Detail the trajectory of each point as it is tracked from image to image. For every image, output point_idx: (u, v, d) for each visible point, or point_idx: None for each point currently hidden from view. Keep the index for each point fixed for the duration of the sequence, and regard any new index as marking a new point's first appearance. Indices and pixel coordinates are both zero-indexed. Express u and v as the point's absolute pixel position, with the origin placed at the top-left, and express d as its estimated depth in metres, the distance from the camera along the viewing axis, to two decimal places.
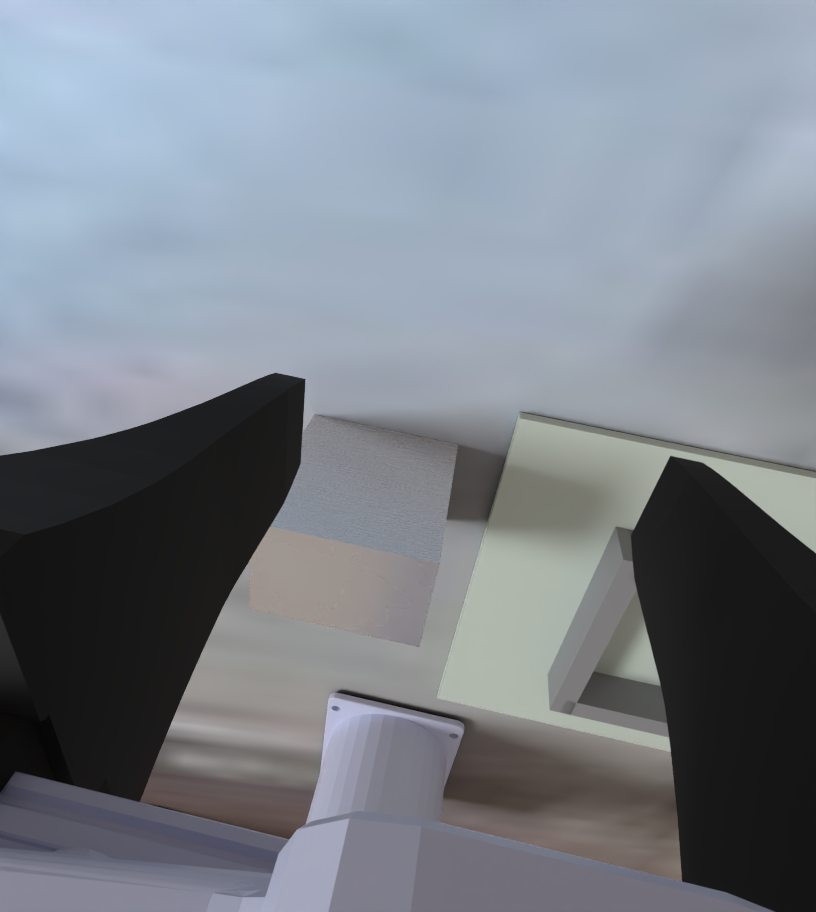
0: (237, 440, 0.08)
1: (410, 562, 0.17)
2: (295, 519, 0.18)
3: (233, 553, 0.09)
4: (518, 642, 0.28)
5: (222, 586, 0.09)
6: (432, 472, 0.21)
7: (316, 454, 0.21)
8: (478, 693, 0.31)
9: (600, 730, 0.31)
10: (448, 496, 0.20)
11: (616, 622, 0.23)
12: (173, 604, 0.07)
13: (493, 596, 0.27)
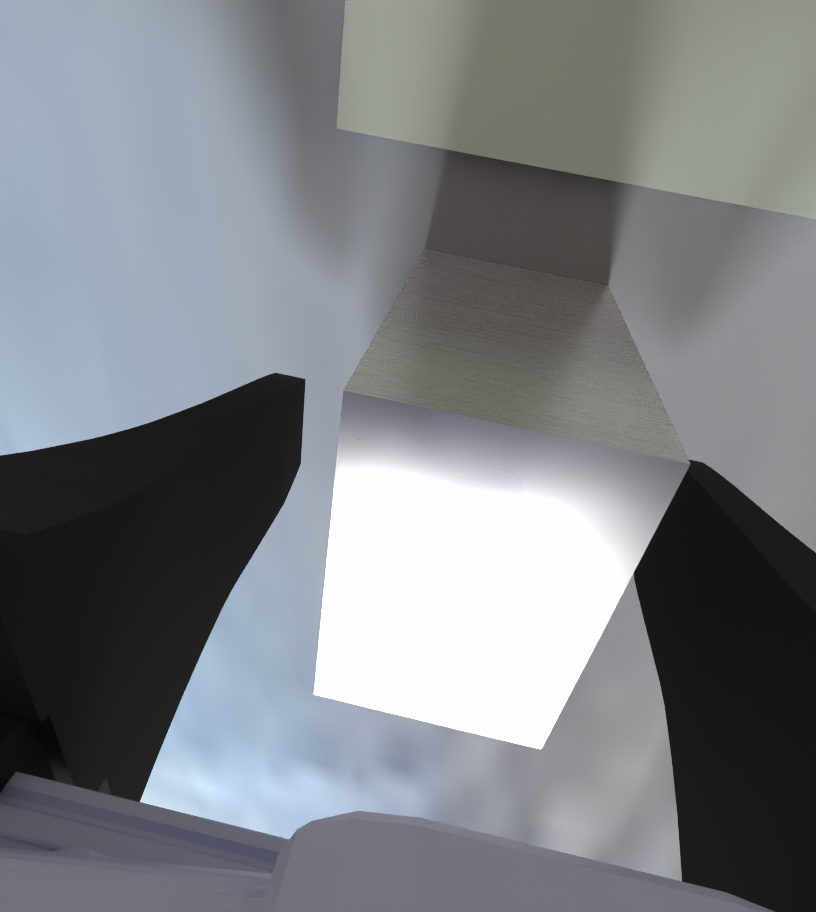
0: (237, 440, 0.08)
1: (356, 455, 0.07)
2: None
3: (233, 553, 0.09)
4: None
5: (222, 587, 0.09)
6: None
7: None
8: None
9: None
10: (395, 302, 0.09)
11: None
12: (173, 604, 0.07)
13: None
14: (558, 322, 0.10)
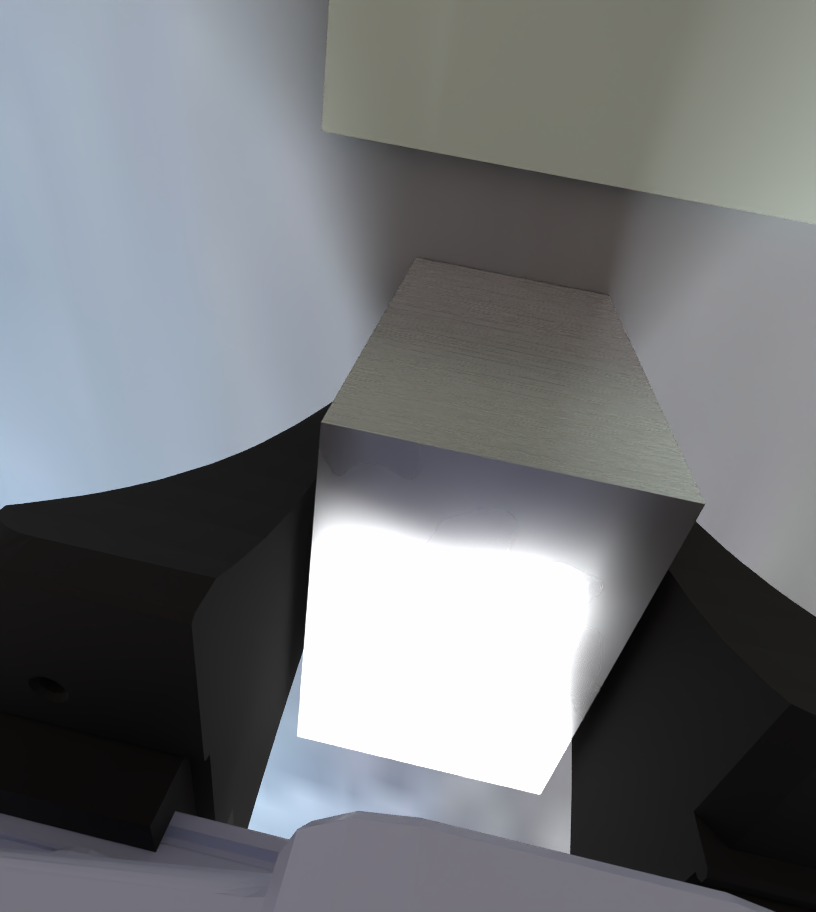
0: None
1: (336, 491, 0.06)
2: None
3: None
4: None
5: None
6: None
7: None
8: None
9: None
10: (382, 318, 0.09)
11: None
12: (285, 630, 0.07)
13: None
14: (557, 338, 0.09)
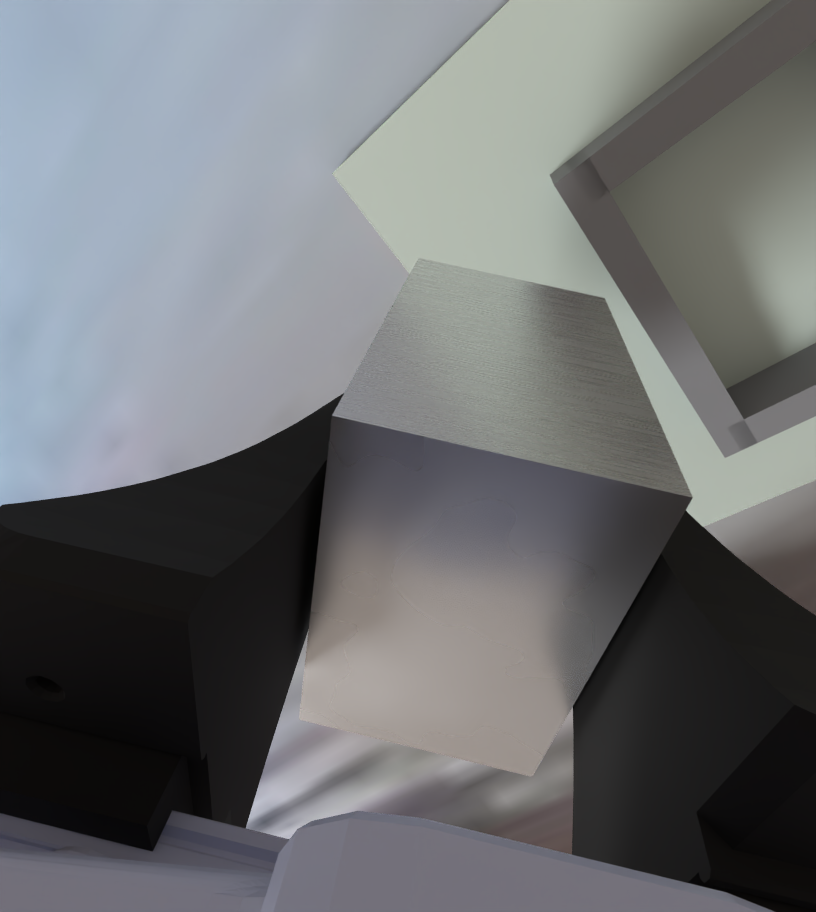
0: None
1: (344, 481, 0.07)
2: None
3: None
4: None
5: None
6: None
7: None
8: None
9: None
10: (387, 316, 0.09)
11: (649, 269, 0.15)
12: (283, 630, 0.07)
13: None
14: (555, 339, 0.09)
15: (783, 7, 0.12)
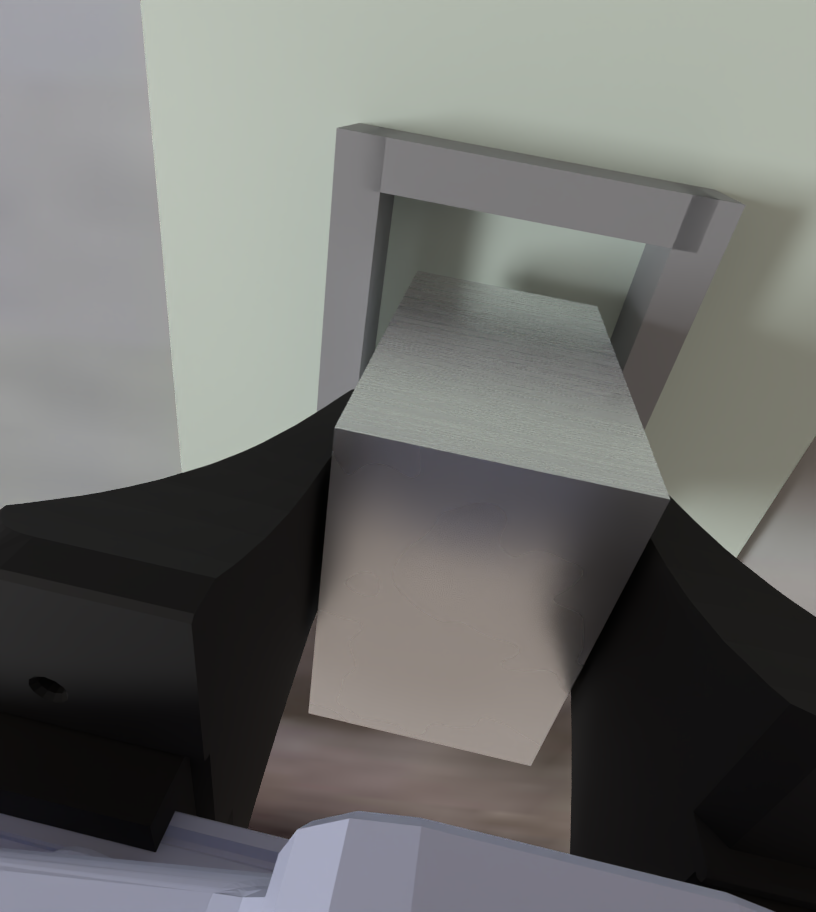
0: None
1: (347, 488, 0.07)
2: None
3: None
4: (270, 414, 0.17)
5: (312, 606, 0.09)
6: None
7: None
8: None
9: None
10: (386, 330, 0.10)
11: (363, 301, 0.13)
12: (285, 630, 0.07)
13: (206, 318, 0.16)
14: (546, 348, 0.10)
15: (618, 181, 0.11)
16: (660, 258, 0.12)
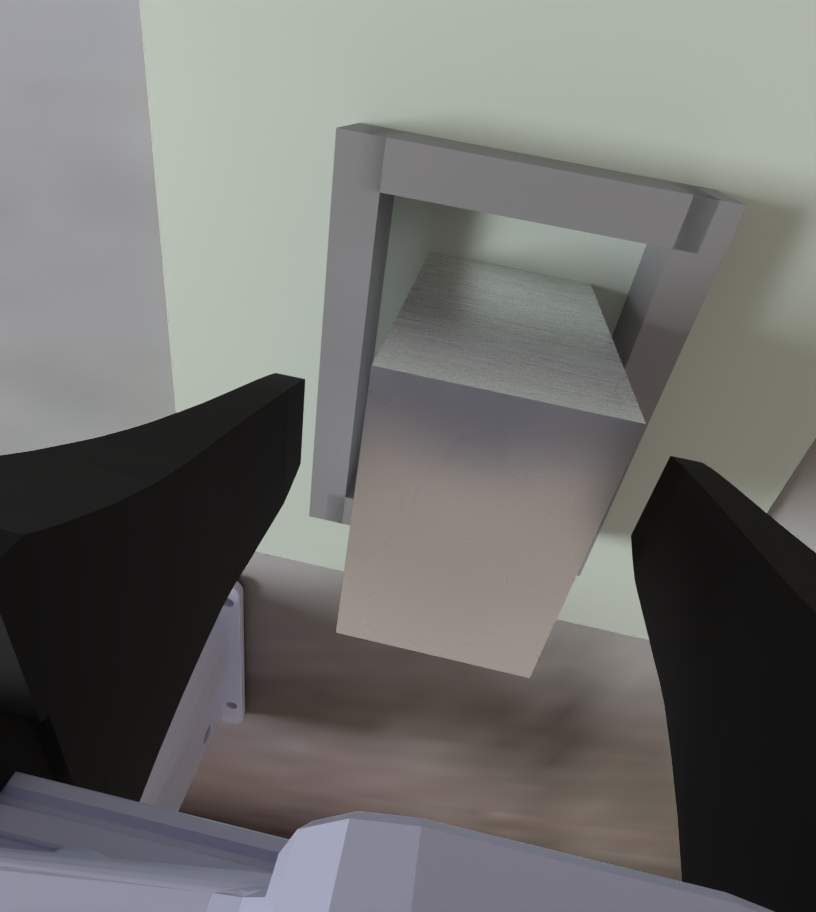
0: (237, 440, 0.08)
1: (379, 419, 0.09)
2: None
3: (233, 553, 0.09)
4: None
5: (222, 586, 0.09)
6: None
7: None
8: None
9: None
10: None
11: (362, 301, 0.13)
12: (173, 604, 0.07)
13: (206, 318, 0.16)
14: (545, 315, 0.11)
15: (619, 181, 0.11)
16: (661, 258, 0.12)
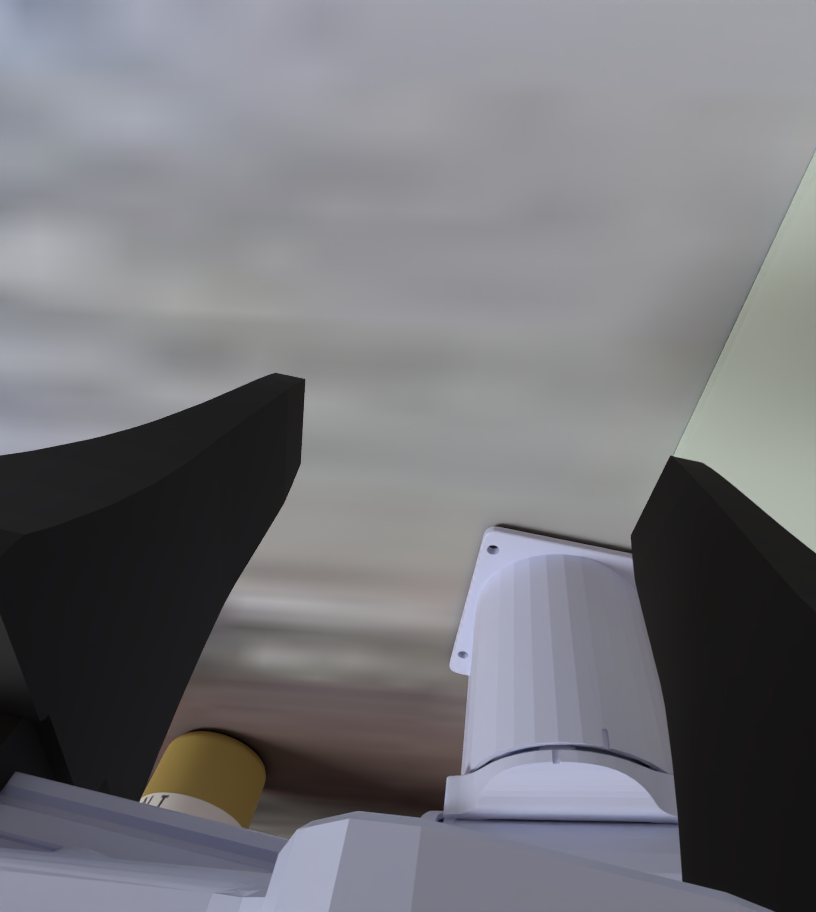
0: (237, 440, 0.08)
1: None
2: None
3: (233, 553, 0.09)
4: (807, 402, 0.19)
5: (222, 586, 0.09)
6: None
7: None
8: None
9: None
10: None
11: None
12: (173, 604, 0.07)
13: (789, 312, 0.17)
14: None
15: None
16: None
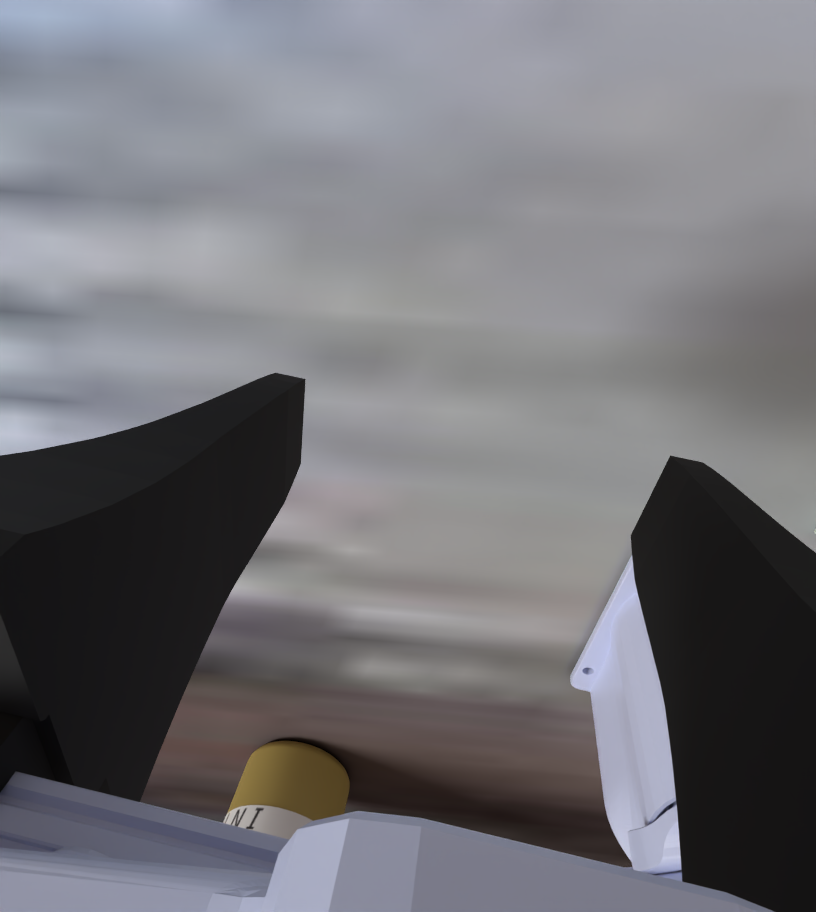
0: (237, 440, 0.08)
1: None
2: None
3: (233, 553, 0.09)
4: None
5: (222, 586, 0.09)
6: None
7: None
8: None
9: None
10: None
11: None
12: (173, 604, 0.07)
13: None
14: None
15: None
16: None
